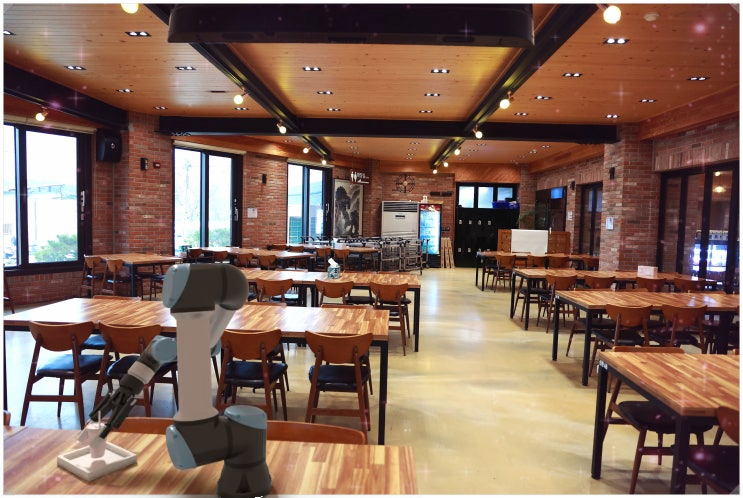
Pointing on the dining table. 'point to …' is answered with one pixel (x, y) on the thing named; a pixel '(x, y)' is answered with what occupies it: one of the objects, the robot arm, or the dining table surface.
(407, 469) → the dining table surface
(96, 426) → the smoothie
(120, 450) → the tray
